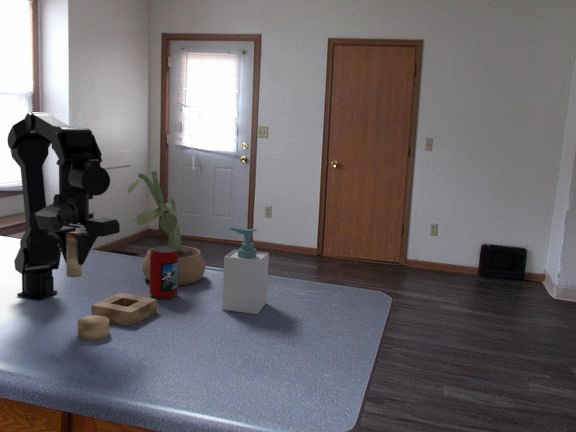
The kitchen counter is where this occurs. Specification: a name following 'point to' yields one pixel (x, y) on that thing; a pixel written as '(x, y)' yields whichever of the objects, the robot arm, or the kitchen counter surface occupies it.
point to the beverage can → (163, 272)
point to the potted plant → (170, 234)
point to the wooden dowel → (72, 256)
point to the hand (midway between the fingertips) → (74, 263)
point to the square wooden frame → (125, 308)
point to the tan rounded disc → (93, 327)
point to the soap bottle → (245, 277)
